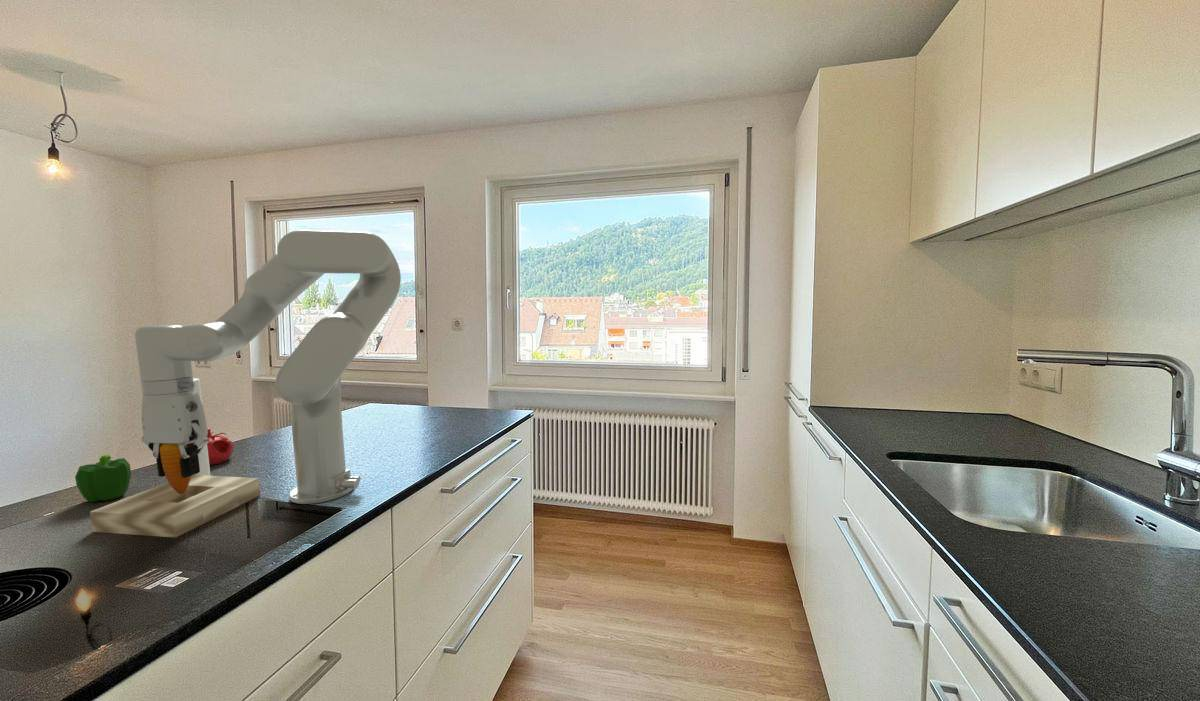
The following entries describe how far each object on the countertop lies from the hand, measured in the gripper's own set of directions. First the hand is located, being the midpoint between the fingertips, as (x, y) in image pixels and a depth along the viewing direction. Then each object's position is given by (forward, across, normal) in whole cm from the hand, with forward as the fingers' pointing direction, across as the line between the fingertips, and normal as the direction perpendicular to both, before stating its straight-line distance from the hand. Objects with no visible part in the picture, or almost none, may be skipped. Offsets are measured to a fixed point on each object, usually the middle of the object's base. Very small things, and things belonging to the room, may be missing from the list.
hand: (179, 473), depth 93 cm
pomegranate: (+8, +22, -26) cm, 35 cm away
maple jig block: (+8, 0, 0) cm, 8 cm away
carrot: (+5, 0, 0) cm, 5 cm away
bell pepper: (+8, +24, -4) cm, 26 cm away
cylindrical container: (+8, +12, -12) cm, 19 cm away
